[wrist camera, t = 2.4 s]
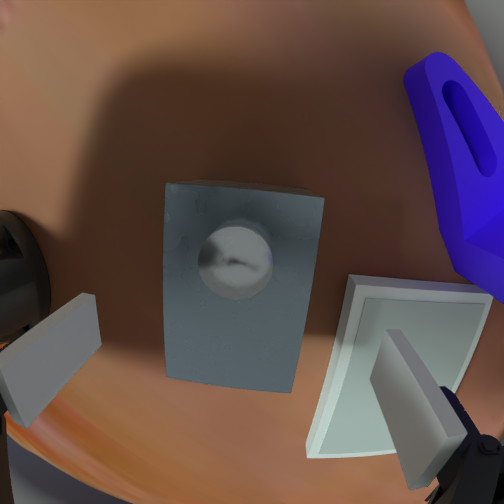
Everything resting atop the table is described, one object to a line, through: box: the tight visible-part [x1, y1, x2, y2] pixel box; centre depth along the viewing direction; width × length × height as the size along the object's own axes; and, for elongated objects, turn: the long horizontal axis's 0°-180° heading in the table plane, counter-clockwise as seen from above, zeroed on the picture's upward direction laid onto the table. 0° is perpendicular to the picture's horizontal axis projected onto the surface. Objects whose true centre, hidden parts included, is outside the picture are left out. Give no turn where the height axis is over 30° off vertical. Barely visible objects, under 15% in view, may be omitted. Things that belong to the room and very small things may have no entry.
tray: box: [306, 274, 493, 458], centre depth 26 cm, size 15×21×3 cm
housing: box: [163, 179, 325, 393], centre depth 20 cm, size 8×13×10 cm, turn 175°
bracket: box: [404, 52, 504, 304], centre depth 16 cm, size 18×11×12 cm, turn 34°
